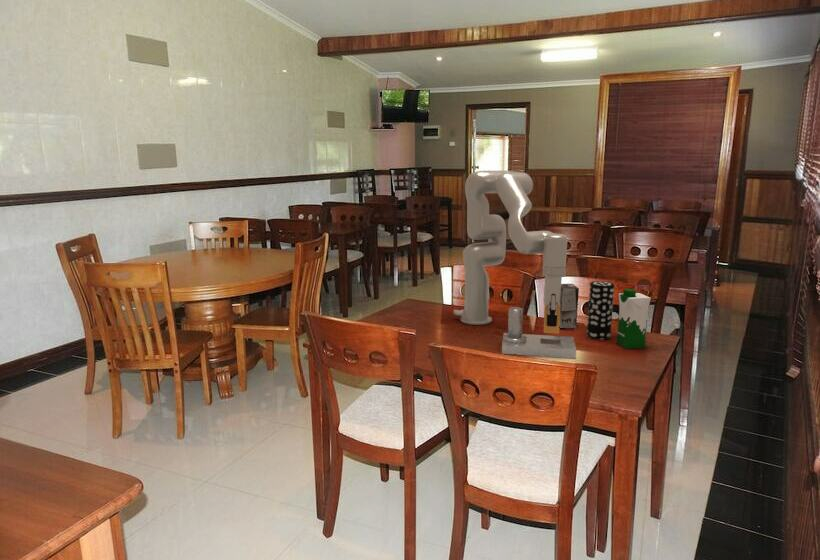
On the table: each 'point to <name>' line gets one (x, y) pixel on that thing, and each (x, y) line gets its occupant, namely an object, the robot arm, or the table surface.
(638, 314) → the milk carton
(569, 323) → the coffee box
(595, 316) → the white-spotted black cylinder
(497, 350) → the table surface
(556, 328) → the tan upright block
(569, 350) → the grey base with post
